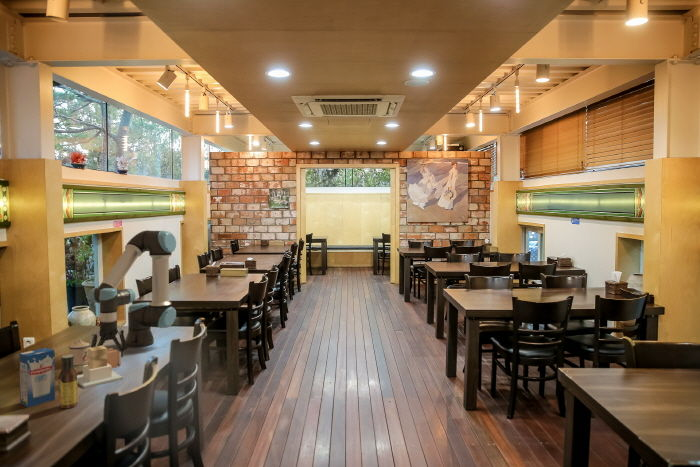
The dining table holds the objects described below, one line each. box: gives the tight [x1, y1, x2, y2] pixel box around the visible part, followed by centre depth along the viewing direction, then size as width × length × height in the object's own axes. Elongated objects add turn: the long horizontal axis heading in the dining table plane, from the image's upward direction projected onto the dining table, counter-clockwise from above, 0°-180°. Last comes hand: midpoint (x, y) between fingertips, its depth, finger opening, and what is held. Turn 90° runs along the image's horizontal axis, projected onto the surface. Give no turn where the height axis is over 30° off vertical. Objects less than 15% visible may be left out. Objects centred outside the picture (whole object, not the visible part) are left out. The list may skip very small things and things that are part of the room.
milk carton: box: [19, 347, 56, 408], centre depth 191 cm, size 10×6×20 cm, turn 148°
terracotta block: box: [107, 347, 118, 369], centre depth 234 cm, size 6×6×8 cm
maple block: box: [87, 345, 108, 369], centre depth 217 cm, size 6×6×8 cm
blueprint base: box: [77, 363, 124, 389], centre depth 217 cm, size 16×16×6 cm
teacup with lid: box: [68, 339, 91, 367], centre depth 240 cm, size 12×9×12 cm
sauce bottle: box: [58, 354, 79, 409], centre depth 187 cm, size 7×6×20 cm
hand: (108, 366), depth 234 cm, fingers open, 9 cm apart
